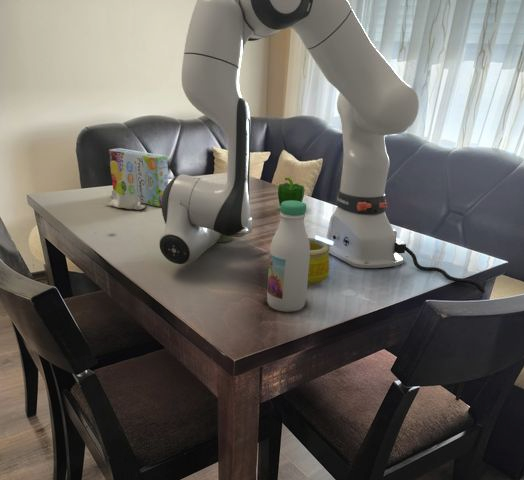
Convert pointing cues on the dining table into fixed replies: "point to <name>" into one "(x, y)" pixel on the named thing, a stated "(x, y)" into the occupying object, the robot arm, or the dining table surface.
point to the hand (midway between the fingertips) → (222, 213)
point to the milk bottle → (289, 260)
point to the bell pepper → (290, 191)
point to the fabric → (126, 201)
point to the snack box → (139, 174)
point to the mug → (318, 261)
